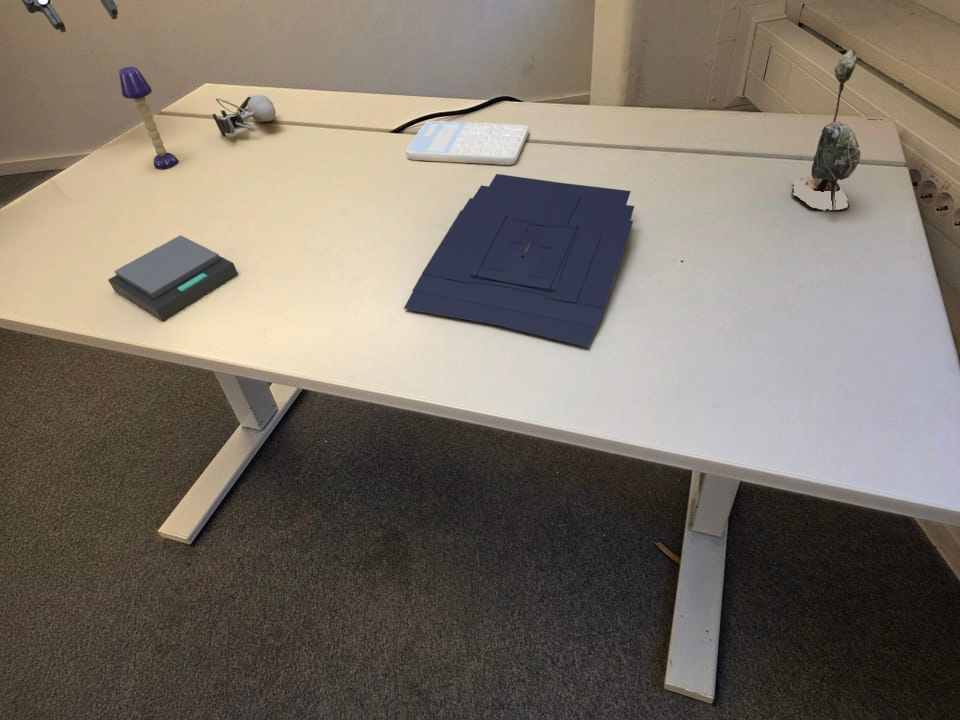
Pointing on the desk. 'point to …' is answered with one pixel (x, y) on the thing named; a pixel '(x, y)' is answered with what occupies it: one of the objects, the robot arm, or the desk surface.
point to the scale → (172, 277)
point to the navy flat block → (529, 258)
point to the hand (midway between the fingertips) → (89, 22)
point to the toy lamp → (145, 112)
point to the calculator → (468, 142)
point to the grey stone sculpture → (836, 142)
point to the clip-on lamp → (257, 109)
